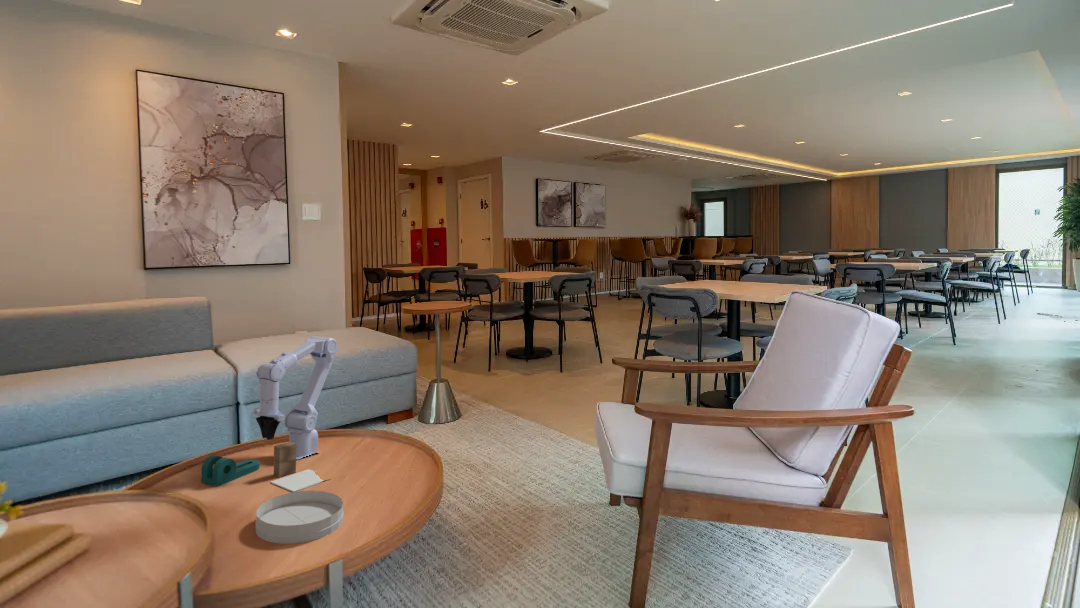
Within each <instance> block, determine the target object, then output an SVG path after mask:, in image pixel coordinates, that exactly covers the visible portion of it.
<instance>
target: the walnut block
mask: <svg viewBox="0 0 1080 608" xmlns="http://www.w3.org/2000/svg"><path fill="white" fill-rule="evenodd" d="M296 466H297V460H296V443H293V442H289V441H287V442H283V443H281V444H280V443H279V444H278V445H274V446H273V476H274V477H276V478H277V479H280V478H283V477H286V476H289V475H292V474H296V473H297V467H296Z"/></svg>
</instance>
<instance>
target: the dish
mask: <svg viewBox="0 0 1080 608" xmlns="http://www.w3.org/2000/svg"><path fill="white" fill-rule="evenodd" d="M255 513H256V520H255V534H256V535H257V536H258V538H259V539H261V540H263V541H265V542H267V543H269V542H270V543H273V544H282V545H283V544H284V545H289V544H301V543H307V542H312V541H316V540H318V539H322V538H324V537H326V536H329V535H331V534H332V533H334V532H335V531H336V530H338V529H339V528H340V527H341V526H342V525H343V523H344V522H343V521H344V513H345V512H344V501H343V500H342V498H341V497H340V496H339V495H337V494H336V493H335V494H334V493H332V492H330V491H329V492H328V491H323V490H300V491H297V492H287V493H283V494H280V495H278V496H275V497H272V498H269V499H268V500H267V501H264V502H263V503H261V504H260V506H258V508H257V509H256V512H255Z"/></svg>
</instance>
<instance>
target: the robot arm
mask: <svg viewBox="0 0 1080 608" xmlns="http://www.w3.org/2000/svg"><path fill="white" fill-rule="evenodd" d="M338 349H339V346H338V342H337V341H336V339H335V338H334V337H322V336H316V335H312V336H309V338H306V339H305V342H304V343H302V344H300V346H298V347H297V348H295V349H294V350H293V351H291V352H289V351H283V352H282V353H281V355H279V356H277V357H276V358H273V359H271V360H270V361H269V362H264V363H262V364H261V365H259V367H258V368H257V371H255V372H256V377H257V379H258V383H259V389H260V390H259V406H258V407H254V408H253V414H254V415H256V416H258V417H255V421H256V422H257V424H258V427H259V429H260V433H261V438H262V439H266V440H274V439H275V435H276V433H277V432H276V431H277V430H278V429H277V428H278V427H279V425H280V423H281V422H284V426H285V428H287V431H288V432H289V436H288V440H289V441H288V442H293V443H296V461H297V460H302V459H304V458H303V457H305V458H307V457H306V456H308V457H310V456H309V454H310V455H311V454H312V453H314V452H315V451H317V450H318V451H319V434H318V433H319V432H318V431H317V430H316V428H315V427H316V425H317V419H318V416H319V413H318V411H317V409H316V408H315V406H316V404H317V402H318V399H319V397H320V394H321V391H322V390H323V387H324V384H325V382H326V379H327V378H328V377H327V376H328V374H329V372H330V370H331V367H332V365H333V362H334V359H335V356H336V354H337V352H338ZM309 355H310V357H311V358H312V359H313V361H314V363H315V364H314V367H313V370H312V371H311V375H310V377H309V379H308V382H307V383H306V386H305V389H304V390H303V393H302V396H301V398H300V400H299V402H298V403H296V404H294V405H293V406H292V407H291V408H290V410H289V412H288V413H287V414H286V416H285V414H283V413H282V412H281V411H280V410H279V400H280V398H279V397H280V381H281V380H282V379H283V377H284V375H285V374H286V372H288V371H289V370H291V369H293V368H294V367H296V366H297V364H298V361H299V360H301V359H304V357H306V356H309ZM311 456H312V455H311Z"/></svg>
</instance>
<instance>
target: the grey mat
mask: <svg viewBox="0 0 1080 608" xmlns="http://www.w3.org/2000/svg"><path fill="white" fill-rule="evenodd" d="M314 471H315V470H312V469H310V468H308V469H305V470H302V471H299V472H296V473H293V474H290V475H287V476H284V477H281V478H276V479H275V480H272V481H270V484H272V485H275V486H277V487H279V488H282V489H284V490H287V491H289V492H290V493H292V492H299V491H303V490H305V489H307V488H310V487H314V486H316V485H319V484H321V483H320V482H322V481H324V480H322V479H320V477H319V476H318V475H316V474H315V472H316V471H315V472H314ZM318 483H319V484H318ZM322 483H323V482H322Z"/></svg>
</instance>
